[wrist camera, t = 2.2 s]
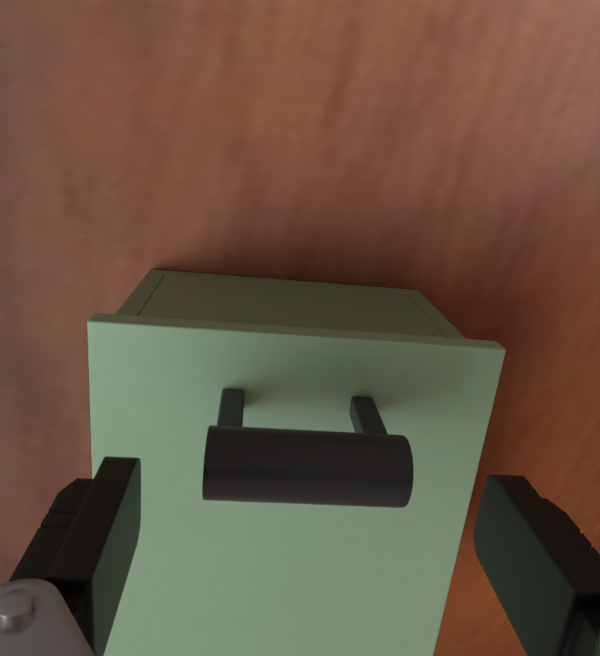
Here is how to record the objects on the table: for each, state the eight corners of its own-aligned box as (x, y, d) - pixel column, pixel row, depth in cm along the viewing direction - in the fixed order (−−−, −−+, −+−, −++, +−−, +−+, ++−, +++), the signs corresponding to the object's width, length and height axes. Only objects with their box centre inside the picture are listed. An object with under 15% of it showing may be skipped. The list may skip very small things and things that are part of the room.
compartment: (150, 268, 25) (95, 336, 17) (418, 289, 26) (490, 362, 18) (148, 530, 30) (105, 682, 22) (375, 537, 31) (416, 685, 23)
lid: (94, 312, 17) (24, 388, 12) (497, 340, 18) (586, 420, 13) (104, 683, 22) (59, 845, 17) (416, 686, 23) (459, 837, 18)
